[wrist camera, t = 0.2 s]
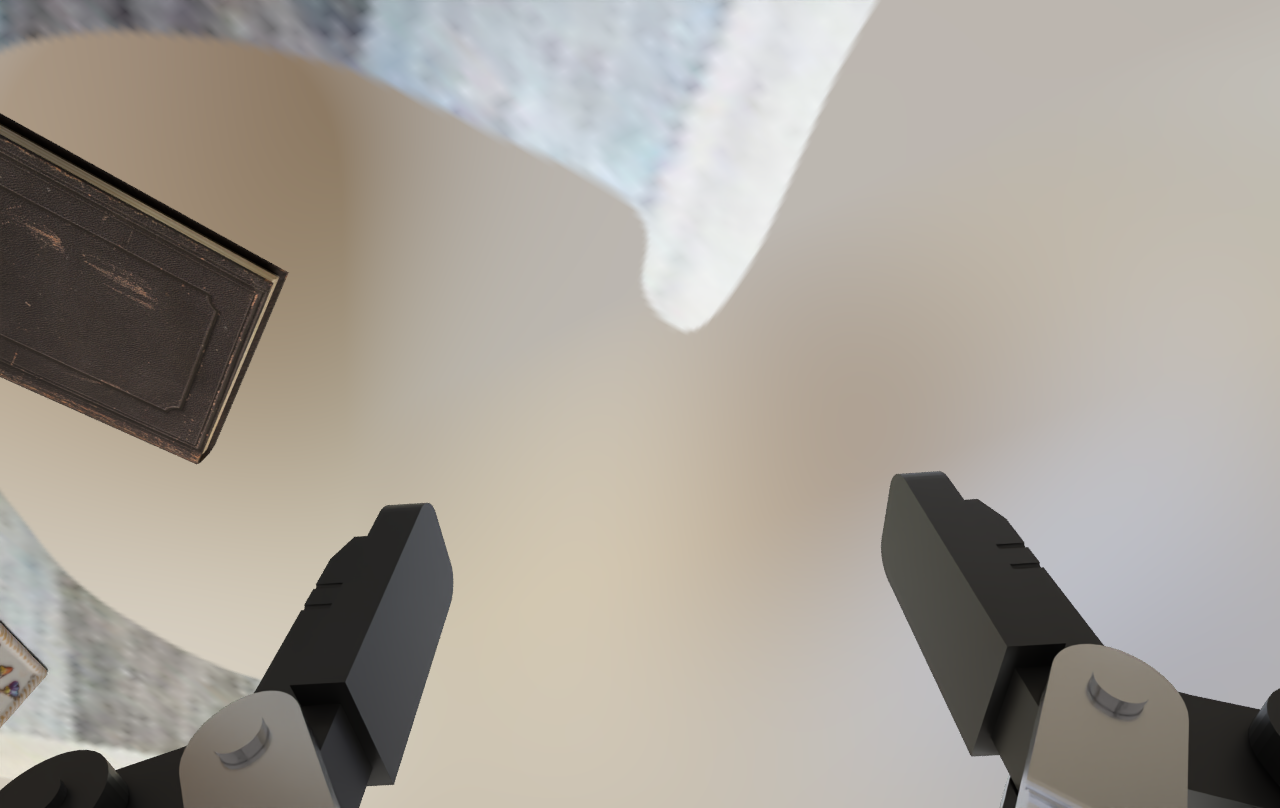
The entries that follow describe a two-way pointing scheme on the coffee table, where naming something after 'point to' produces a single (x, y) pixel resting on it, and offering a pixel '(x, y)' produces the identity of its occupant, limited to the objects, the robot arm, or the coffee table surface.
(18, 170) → the hardcover book
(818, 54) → the coffee table surface
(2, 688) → the decorative jar
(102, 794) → the robot arm
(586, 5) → the coffee table surface
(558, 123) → the coffee table surface
